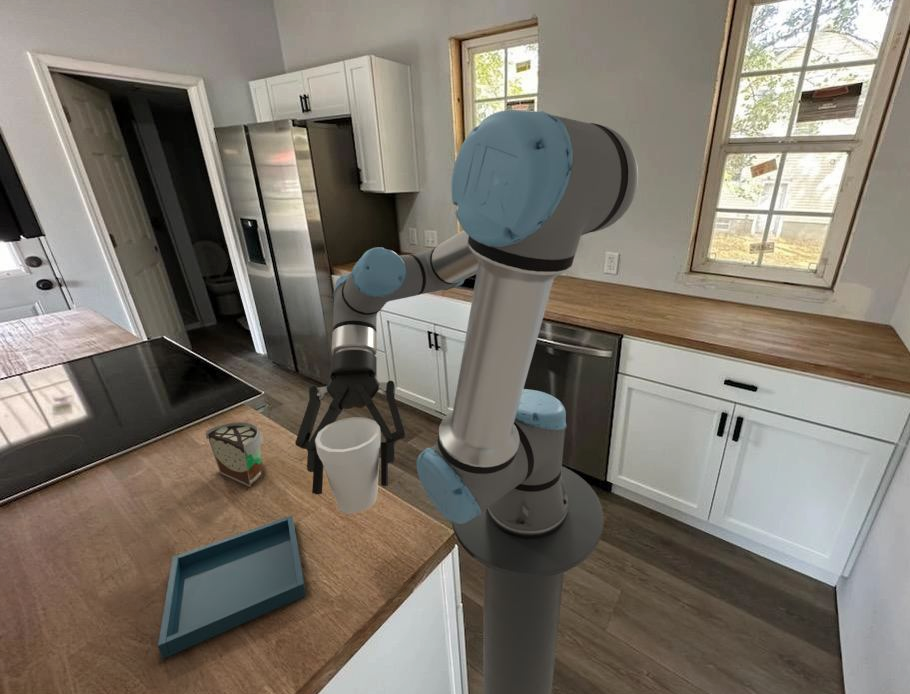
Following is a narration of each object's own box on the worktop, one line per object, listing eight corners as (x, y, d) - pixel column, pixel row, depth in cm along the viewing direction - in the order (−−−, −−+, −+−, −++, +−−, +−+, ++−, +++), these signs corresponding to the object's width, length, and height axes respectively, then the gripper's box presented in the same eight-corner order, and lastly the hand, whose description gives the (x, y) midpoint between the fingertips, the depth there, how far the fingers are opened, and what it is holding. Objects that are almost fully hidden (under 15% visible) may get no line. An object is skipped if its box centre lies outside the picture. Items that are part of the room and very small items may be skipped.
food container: (283, 470, 86) (275, 430, 82) (255, 489, 80) (245, 446, 77) (244, 454, 90) (234, 415, 87) (215, 471, 85) (204, 430, 81)
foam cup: (398, 491, 70) (392, 427, 66) (356, 529, 63) (346, 459, 58) (358, 474, 74) (349, 411, 70) (314, 507, 67) (301, 439, 62)
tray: (294, 525, 72) (292, 514, 71) (306, 595, 61) (303, 583, 60) (176, 568, 64) (171, 556, 63) (162, 659, 52) (157, 646, 51)
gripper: (418, 359, 78) (423, 482, 70) (293, 367, 74) (282, 500, 65) (416, 343, 72) (422, 478, 63) (279, 351, 67) (265, 497, 58)
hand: (351, 489), depth 64 cm, fingers closed on foam cup, 9 cm apart
